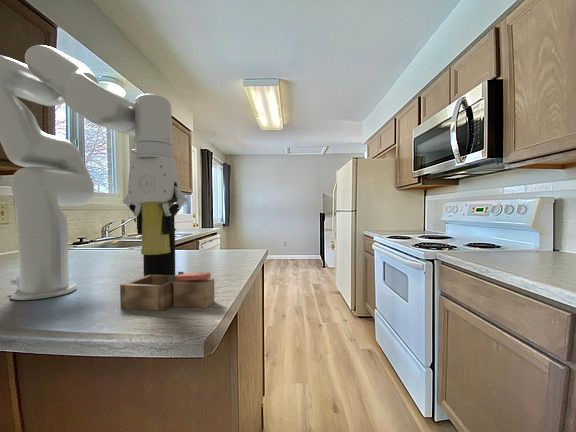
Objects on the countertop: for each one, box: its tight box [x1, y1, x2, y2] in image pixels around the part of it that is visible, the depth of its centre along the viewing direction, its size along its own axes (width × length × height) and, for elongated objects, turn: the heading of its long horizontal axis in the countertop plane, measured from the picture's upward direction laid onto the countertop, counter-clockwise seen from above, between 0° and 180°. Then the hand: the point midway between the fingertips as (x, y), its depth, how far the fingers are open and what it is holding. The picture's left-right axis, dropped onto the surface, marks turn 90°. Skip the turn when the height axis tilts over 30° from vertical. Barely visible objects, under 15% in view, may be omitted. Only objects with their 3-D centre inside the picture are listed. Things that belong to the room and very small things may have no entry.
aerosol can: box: [142, 228, 177, 277], centre depth 77 cm, size 8×8×20 cm
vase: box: [140, 202, 171, 255], centre depth 65 cm, size 6×6×14 cm
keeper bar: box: [174, 271, 212, 281], centre depth 64 cm, size 8×3×1 cm, turn 80°
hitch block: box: [119, 271, 215, 312], centre depth 65 cm, size 18×10×7 cm, turn 81°
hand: (155, 233), depth 65 cm, fingers closed on vase, 5 cm apart
